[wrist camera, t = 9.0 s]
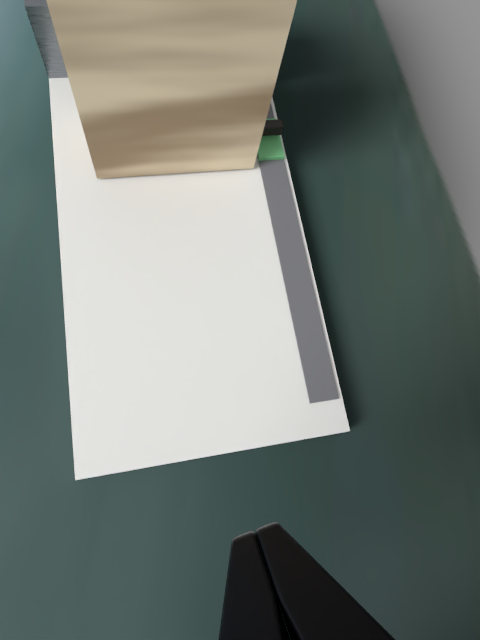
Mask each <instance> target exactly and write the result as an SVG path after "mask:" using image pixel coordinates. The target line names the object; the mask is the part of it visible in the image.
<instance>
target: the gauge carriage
mask: <svg viewBox="0 0 480 640" xmlns="http://www.w3.org/2000/svg"><path fill="white" fill-rule="evenodd" d="M46 1H47V5H48V8H49V12H50V15H51V19H52V22H53V26H54V29H55V33H56V36H57V40H58V43H59V47H60V50H61V54H62V57H63V61H64V64H65V68H66V71H67V75H68V78H69V82H70V85H71V89H72V92H73V96H74V99H75V103H76V106H77V110H78V113H79V117H80V120H81V124H82V127H83V131H84V134H85V138H86V141H87V145H88V148H89V152H90V156H91V159H92V163H93V166H94V170H95V173H96V177H97V179H100V178H115V177H130V176H145V175H160V174H175V173H190V172H205V171H220V170H235V169H250V168H254V165H255V161H256V157H257V153H258V149H259V145H260V142H261V138H262V136H270V135H281V134H282V131H283V128H284V126H283V122H282V119H277V120H266V118H267V115H268V111H269V107H270V103H271V99H272V95H273V91H274V88H275V84H276V80H277V76H278V72H279V68H280V64H281V61H282V57H283V53H284V49H285V45H286V41H287V37H288V34H289V30H290V26H291V22H292V18H293V14H294V10H295V7H296V3H297V0H46Z"/></svg>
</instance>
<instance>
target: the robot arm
mask: <svg viewBox="0 0 480 640" xmlns="http://www.w3.org/2000/svg"><path fill="white" fill-rule="evenodd" d="M256 536H257V537H256ZM257 539H258V540H257ZM258 542H259V543H258ZM259 545H260V546H259ZM260 548H261V549H260ZM261 551H262V552H261ZM262 554H263V555H262ZM263 557H264V558H263ZM264 560H265V561H264ZM265 563H266V564H265ZM266 566H267V567H266ZM267 569H268V570H267ZM268 572H269V573H268ZM269 575H270V576H269ZM279 606H280V607H279ZM280 609H281V610H280ZM281 612H282V613H281ZM282 615H283V616H282ZM283 618H284V619H283ZM284 621H285V622H284ZM285 624H286V625H285ZM286 627H287V628H286ZM287 630H288V631H287ZM288 633H289V634H288ZM289 636H290V637H289ZM290 639H291V640H395V639H394V638H393V637H392V636H391V635H390V634H389V633H388V632H387V631H386V630H385V629H384V628H383V627H382V626H381V625H380V624H379V623H378V622H377V621H376V620H375V619H374V618H373V617H372V616H371V615H370V614H369V613H368V612H367V611H366V610H365V609H364V608H363V607H362V606H361V605H360V604H359V603H358V602H357V601H356V600H355V599H354V598H353V597H352V596H351V595H350V594H349V593H348V592H347V591H346V590H345V589H344V588H343V587H342V586H341V585H340V584H339V583H338V582H337V581H336V580H335V579H334V578H333V577H332V576H331V575H330V574H329V573H328V572H327V571H326V570H325V569H324V568H323V567H322V566H321V565H320V564H319V563H318V562H317V561H316V560H315V559H314V558H313V557H312V556H311V555H310V554H309V553H308V552H307V551H306V550H305V549H304V548H303V547H302V546H301V545H300V544H299V543H298V542H297V541H296V540H295V539H294V538H293V537H292V536H291V535H290V534H289V533H288V532H287V531H286V530H285V529H284V528H283V527H282V526H281V525H280V524H278V523H276V522H273V523H270V524H268V525H265V526H262V527H260V528H258V529H257V530H256V534H255V533H254V532H253V531H249V532H247V533H244V534H242V535H239V536H237V537H235V538H234V539H233V540H232V543H231V550H230V558H229V565H228V573H227V580H226V588H225V595H224V603H223V610H222V618H221V625H220V633H219V640H290Z"/></svg>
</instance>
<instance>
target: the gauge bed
mask: <svg viewBox="0 0 480 640" xmlns="http://www.w3.org/2000/svg"><path fill="white" fill-rule="evenodd" d="M49 86H50V102H51V117H52V132H53V148H54V163H55V178H56V193H57V209H58V224H59V239H60V255H61V270H62V285H63V300H64V316H65V331H66V346H67V362H68V377H69V392H70V407H71V423H72V438H73V453H74V469H75V480H79V479H85V478H90V477H96V476H102V475H107V474H113V473H118V472H124V471H130V470H135V469H141V468H146V467H152V466H158V465H163V464H169V463H174V462H180V461H186V460H191V459H197V458H202V457H208V456H214V455H219V454H225V453H230V452H236V451H241V450H247V449H253V448H258V447H264V446H269V445H275V444H281V443H286V442H292V441H297V440H303V439H309V438H314V437H320V436H325V435H331V434H337V433H342V432H348V431H350V428H349V424H348V420H347V415H346V411H345V407H344V403H343V398H342V394H341V390H340V385H339V381H338V377H337V372H336V368H335V364H334V360H333V355H332V351H331V347H330V342H329V338H328V334H327V329H326V325H325V321H324V317H323V312H322V308H321V304H320V299H319V295H318V291H317V286H316V282H315V278H314V274H313V269H312V265H311V261H310V256H309V252H308V248H307V243H306V239H305V235H304V231H303V226H302V222H301V218H300V213H299V209H298V205H297V201H296V196H295V192H294V188H293V183H292V179H291V175H290V170H289V166H288V162H287V158H286V153H285V149H284V145H283V140H282V136H281V135H270V136H262V138H261V142H260V145H259V149H258V153H257V157H256V161H255V165H254V168H250V169H235V170H220V171H205V172H190V173H175V174H160V175H145V176H130V177H115V178H100V179H97V177H96V173H95V170H94V166H93V163H92V159H91V156H90V152H89V148H88V145H87V141H86V138H85V134H84V131H83V127H82V124H81V120H80V117H79V113H78V110H77V106H76V103H75V99H74V96H73V92H72V89H71V85H70V82H69V78H49ZM266 120H277V115H276V110H275V106H274V102H273V97H272V99H271V103H270V107H269V111H268V115H267V118H266Z"/></svg>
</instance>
